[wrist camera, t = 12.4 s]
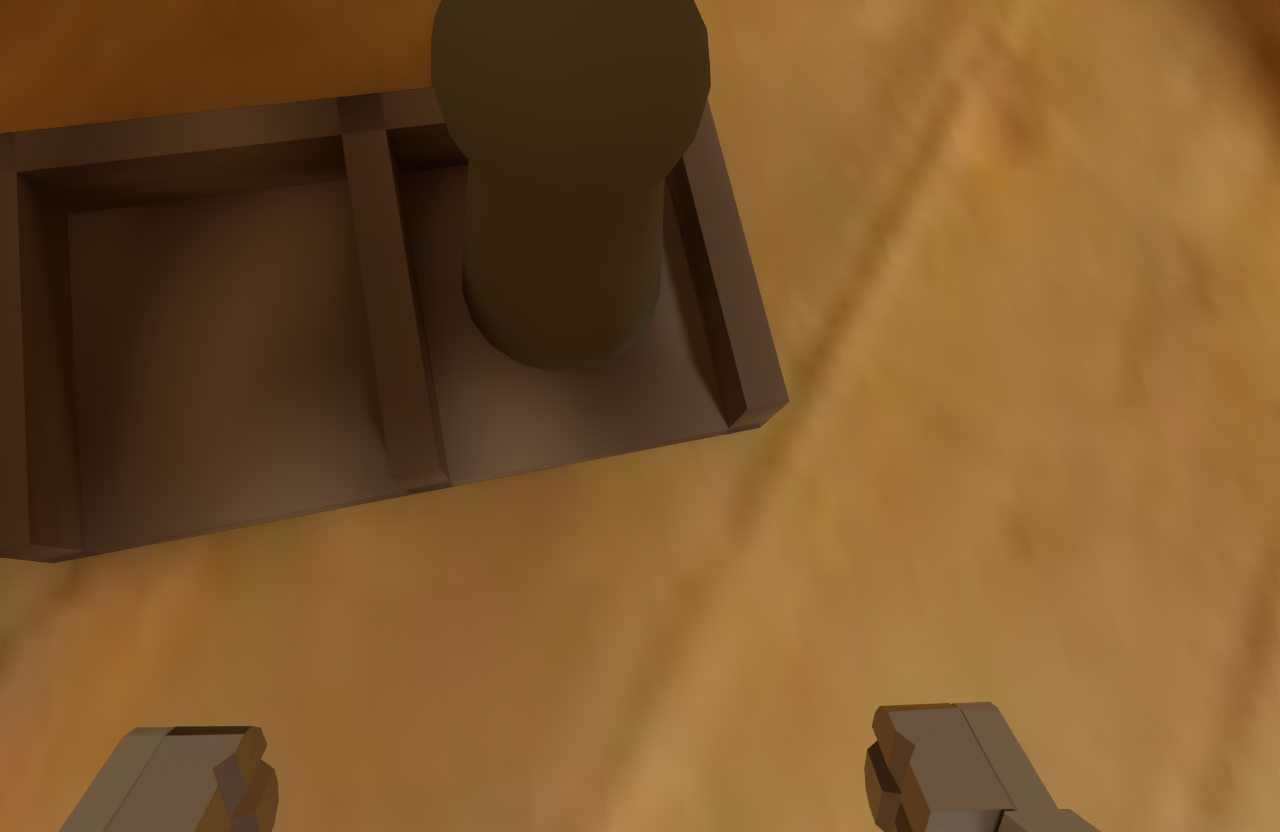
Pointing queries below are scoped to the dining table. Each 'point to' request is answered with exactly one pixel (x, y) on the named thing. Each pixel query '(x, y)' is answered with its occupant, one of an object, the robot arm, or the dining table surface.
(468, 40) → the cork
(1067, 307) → the dining table surface
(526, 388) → the brown wooden tray
